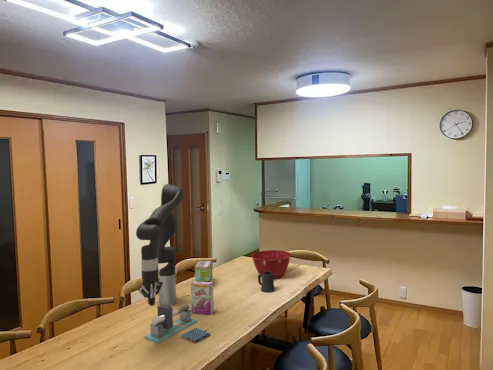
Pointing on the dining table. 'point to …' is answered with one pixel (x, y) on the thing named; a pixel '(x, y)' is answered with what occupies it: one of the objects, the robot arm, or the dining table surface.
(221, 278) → the dining table surface
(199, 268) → the tea box
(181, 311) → the pipe
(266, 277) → the mug
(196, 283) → the candy bar box
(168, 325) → the tall grey rectangular prism
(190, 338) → the woven mat
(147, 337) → the base board
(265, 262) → the mixing bowl
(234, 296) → the dining table surface
